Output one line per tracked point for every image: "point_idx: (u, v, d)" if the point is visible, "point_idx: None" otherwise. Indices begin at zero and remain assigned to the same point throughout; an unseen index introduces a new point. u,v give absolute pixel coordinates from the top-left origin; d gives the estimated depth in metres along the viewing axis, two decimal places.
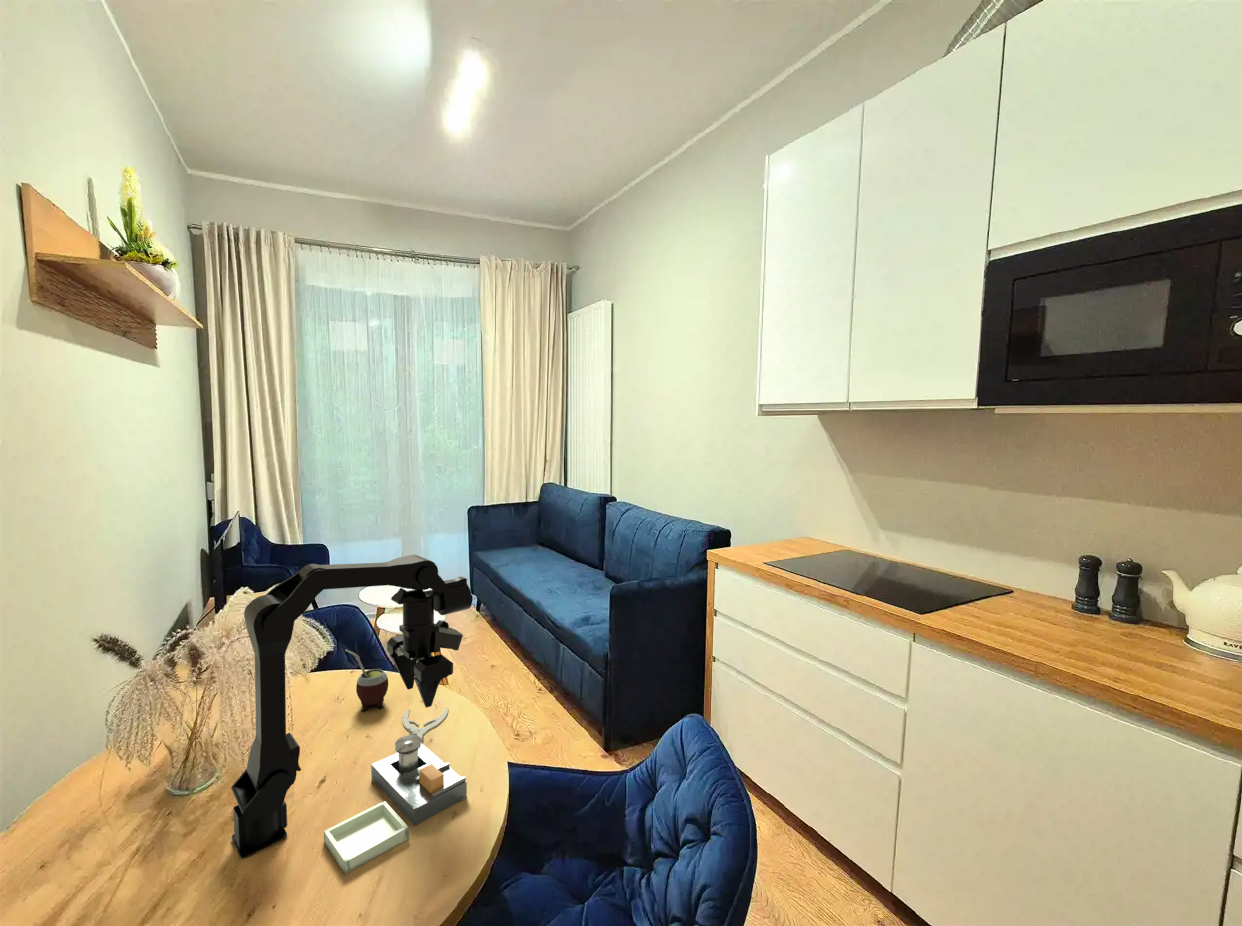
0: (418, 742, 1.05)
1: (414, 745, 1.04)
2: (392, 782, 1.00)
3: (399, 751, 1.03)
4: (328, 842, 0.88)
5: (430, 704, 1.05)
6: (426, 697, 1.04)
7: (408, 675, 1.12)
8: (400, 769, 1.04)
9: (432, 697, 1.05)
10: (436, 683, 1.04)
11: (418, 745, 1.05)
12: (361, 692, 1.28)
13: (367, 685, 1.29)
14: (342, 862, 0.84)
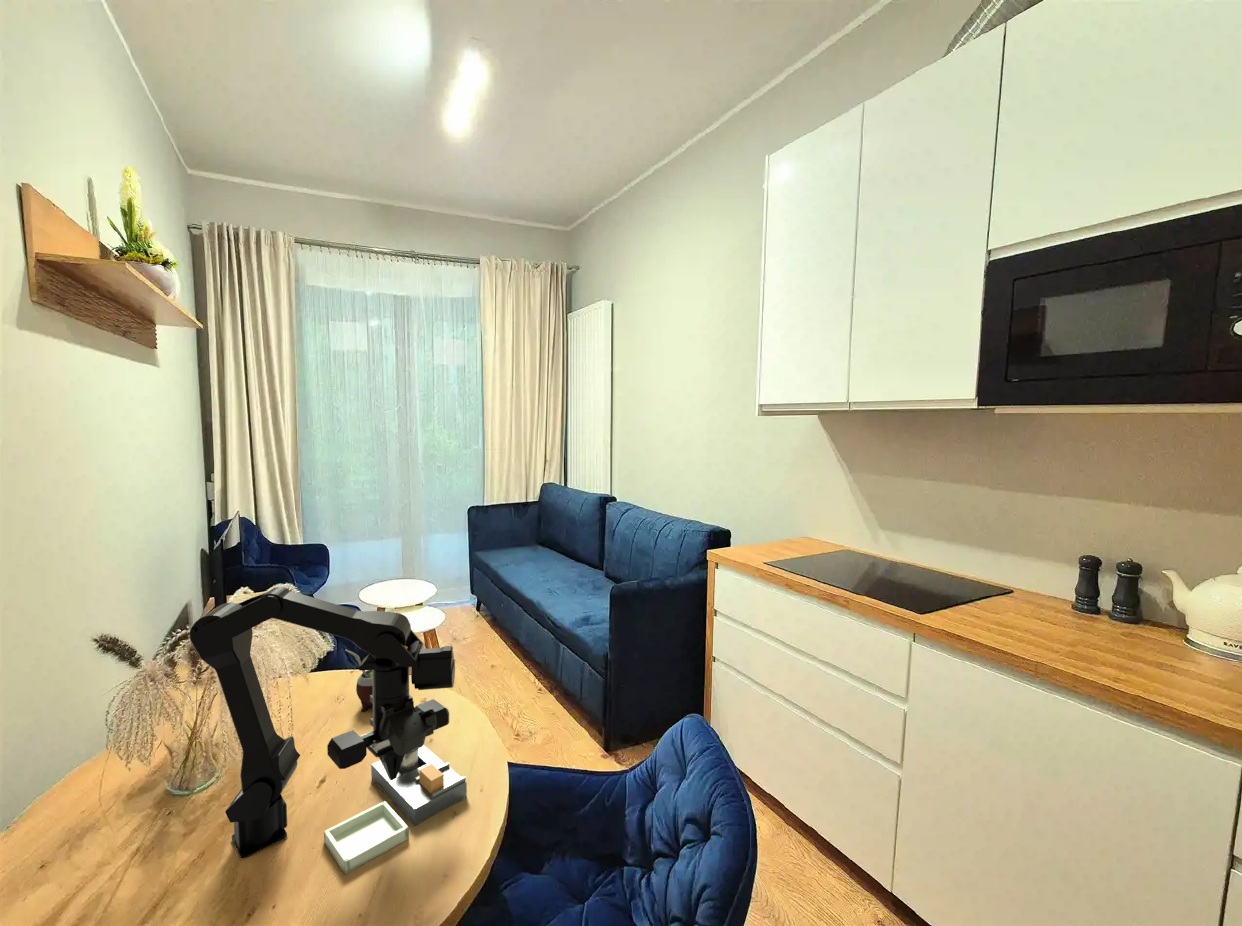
0: None
1: None
2: (392, 782, 1.00)
3: None
4: (328, 842, 0.88)
5: (390, 778, 0.93)
6: (383, 765, 0.93)
7: None
8: (400, 769, 1.04)
9: (389, 772, 0.93)
10: None
11: None
12: (361, 692, 1.28)
13: (367, 685, 1.29)
14: (342, 862, 0.84)
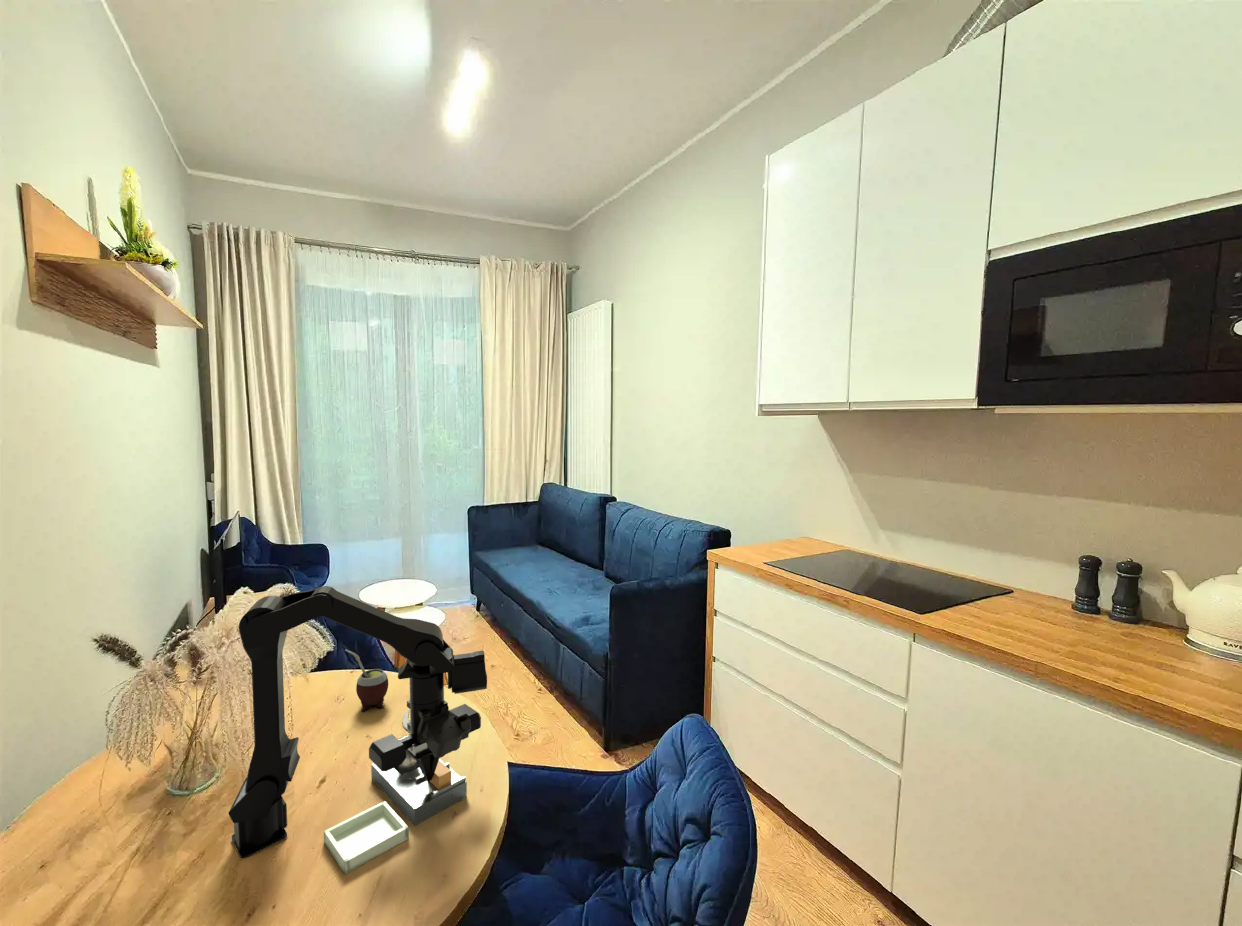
0: None
1: None
2: (392, 782, 1.00)
3: None
4: (328, 842, 0.88)
5: (426, 779, 0.98)
6: (420, 767, 0.98)
7: None
8: (400, 769, 1.04)
9: (426, 773, 0.98)
10: None
11: None
12: (361, 692, 1.28)
13: (367, 685, 1.29)
14: (342, 862, 0.84)
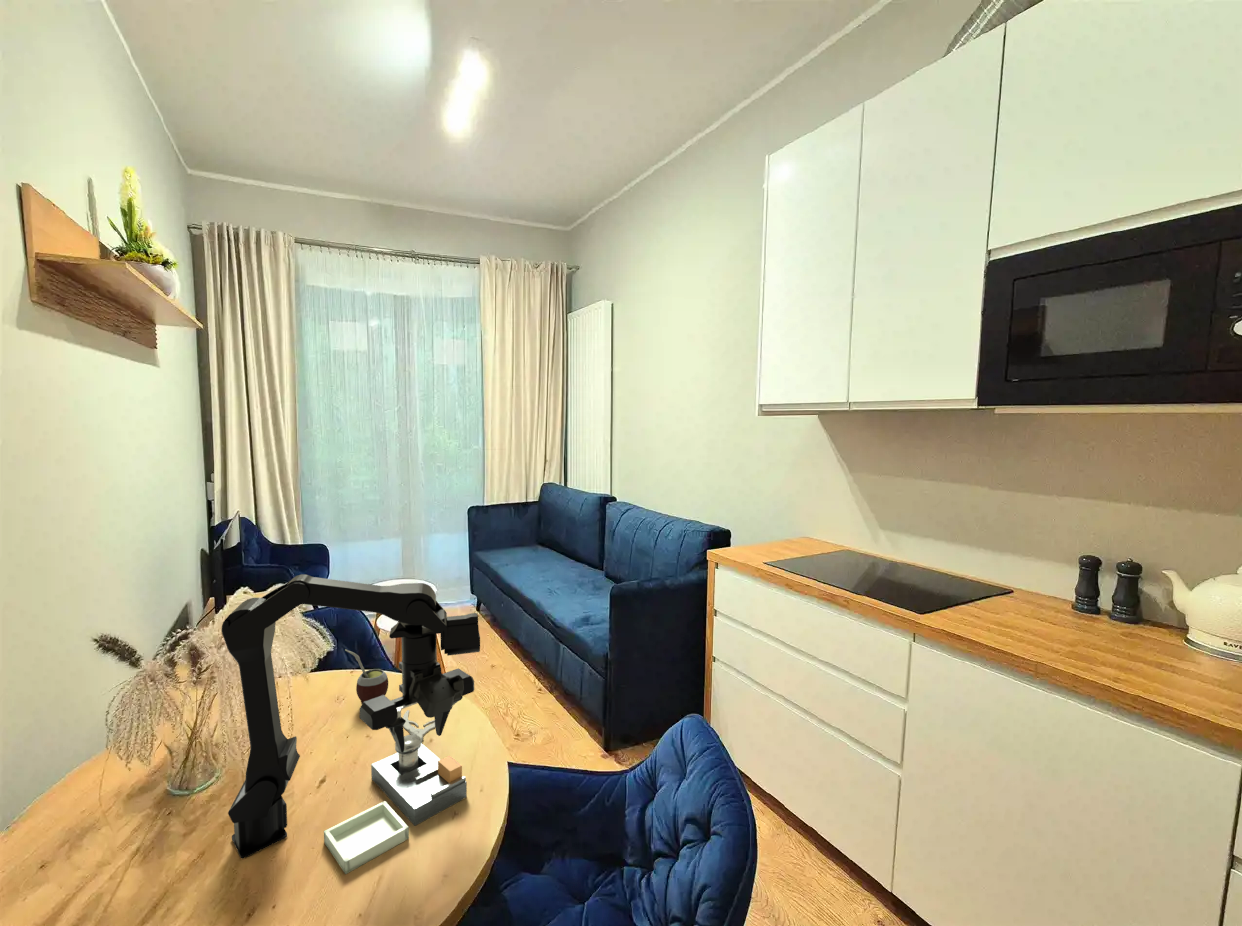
0: (418, 742, 1.05)
1: (414, 745, 1.04)
2: (392, 782, 1.00)
3: (399, 751, 1.03)
4: (328, 842, 0.88)
5: (400, 750, 0.94)
6: (394, 738, 0.94)
7: (437, 719, 1.00)
8: (400, 769, 1.04)
9: (399, 744, 0.94)
10: None
11: (418, 745, 1.05)
12: (361, 692, 1.28)
13: (367, 685, 1.29)
14: (342, 862, 0.84)
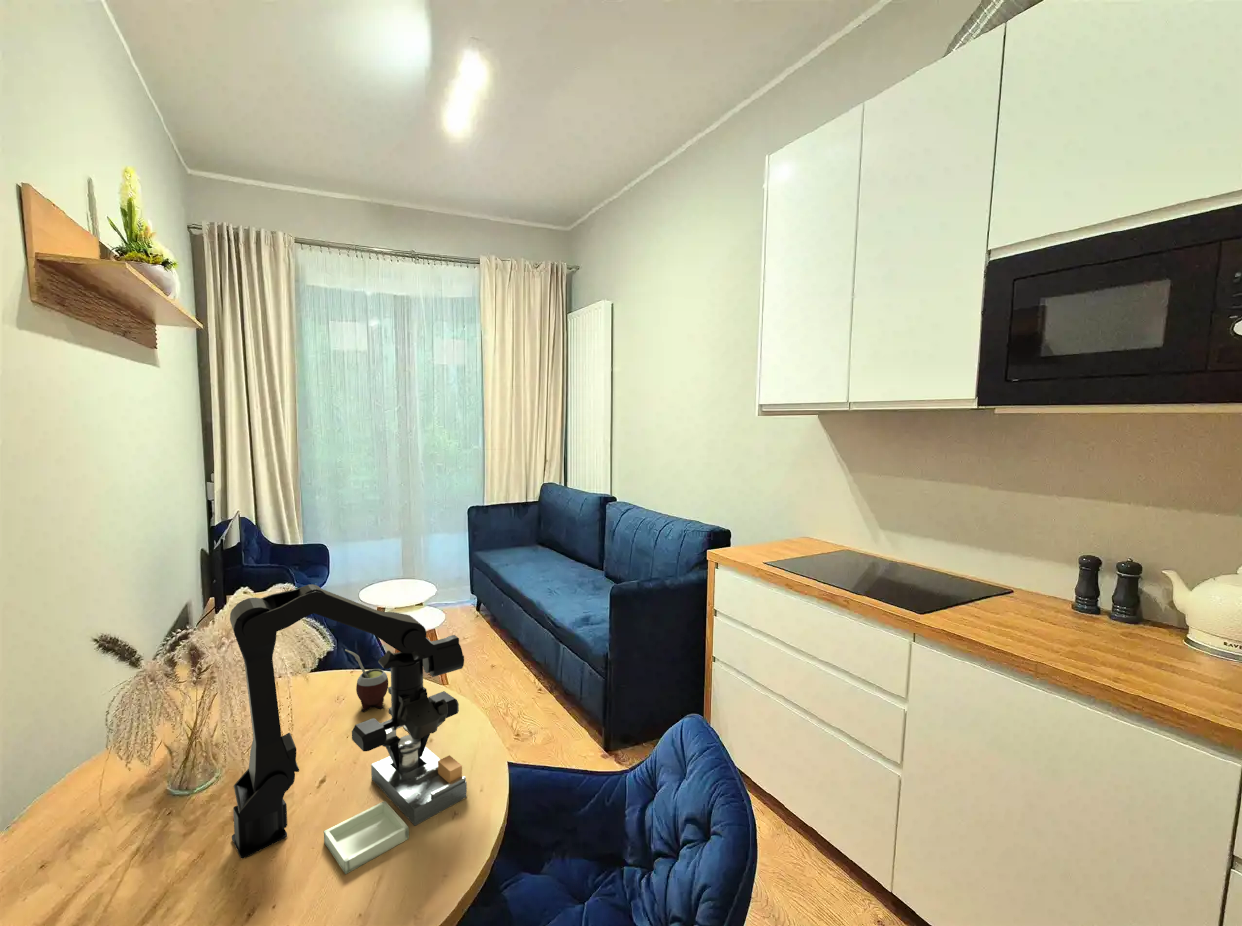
0: (418, 742, 1.05)
1: (414, 745, 1.04)
2: (392, 782, 1.00)
3: (399, 751, 1.03)
4: (328, 842, 0.88)
5: (395, 765, 1.03)
6: (390, 754, 1.03)
7: None
8: (400, 769, 1.04)
9: (395, 760, 1.03)
10: None
11: (418, 745, 1.05)
12: (361, 692, 1.28)
13: (367, 685, 1.29)
14: (342, 862, 0.84)
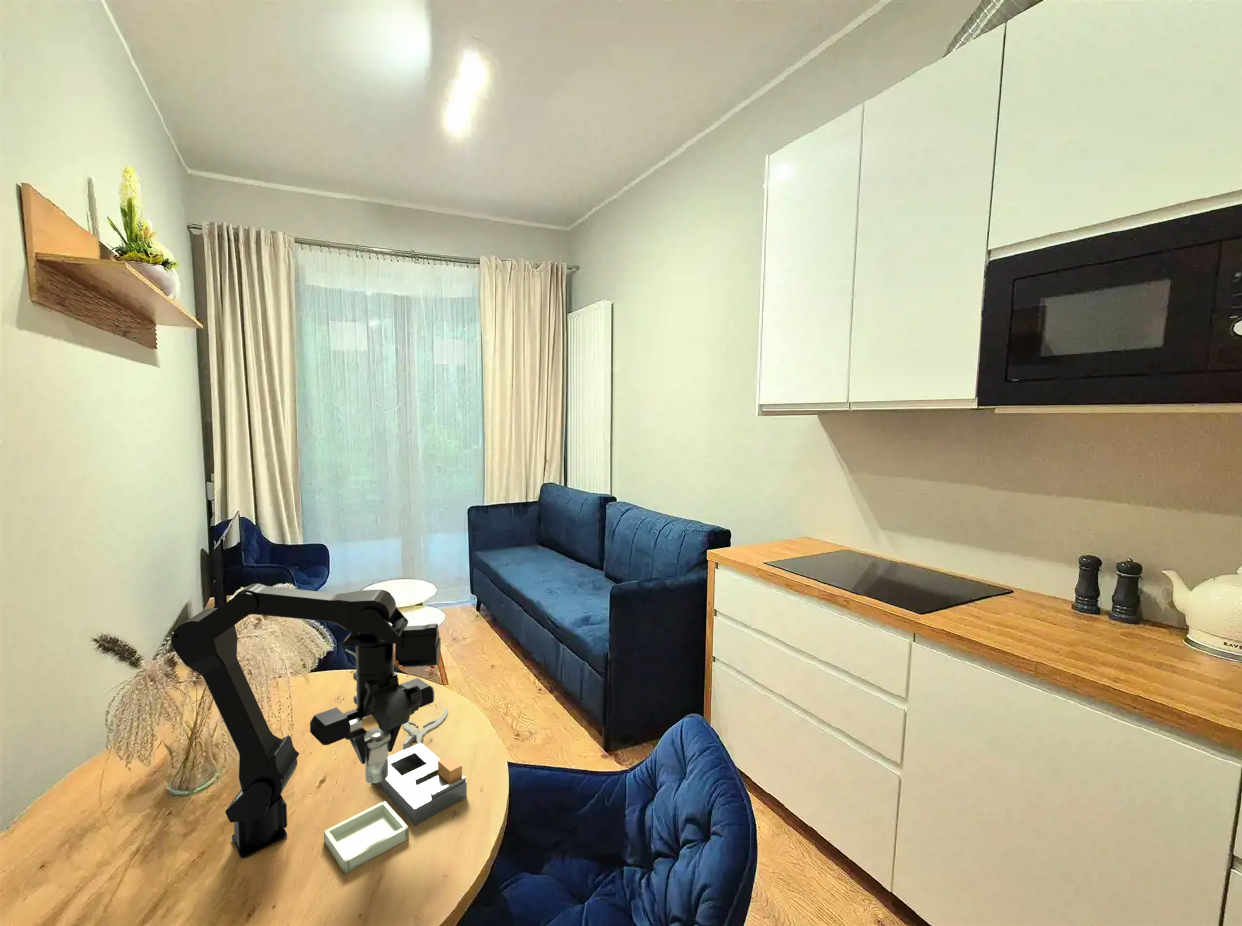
0: (388, 735, 0.93)
1: (383, 738, 0.92)
2: (392, 782, 1.00)
3: (366, 745, 0.91)
4: (328, 842, 0.88)
5: (361, 761, 0.91)
6: (355, 749, 0.91)
7: None
8: (367, 766, 0.92)
9: (360, 755, 0.90)
10: None
11: (388, 738, 0.92)
12: None
13: None
14: (342, 862, 0.84)
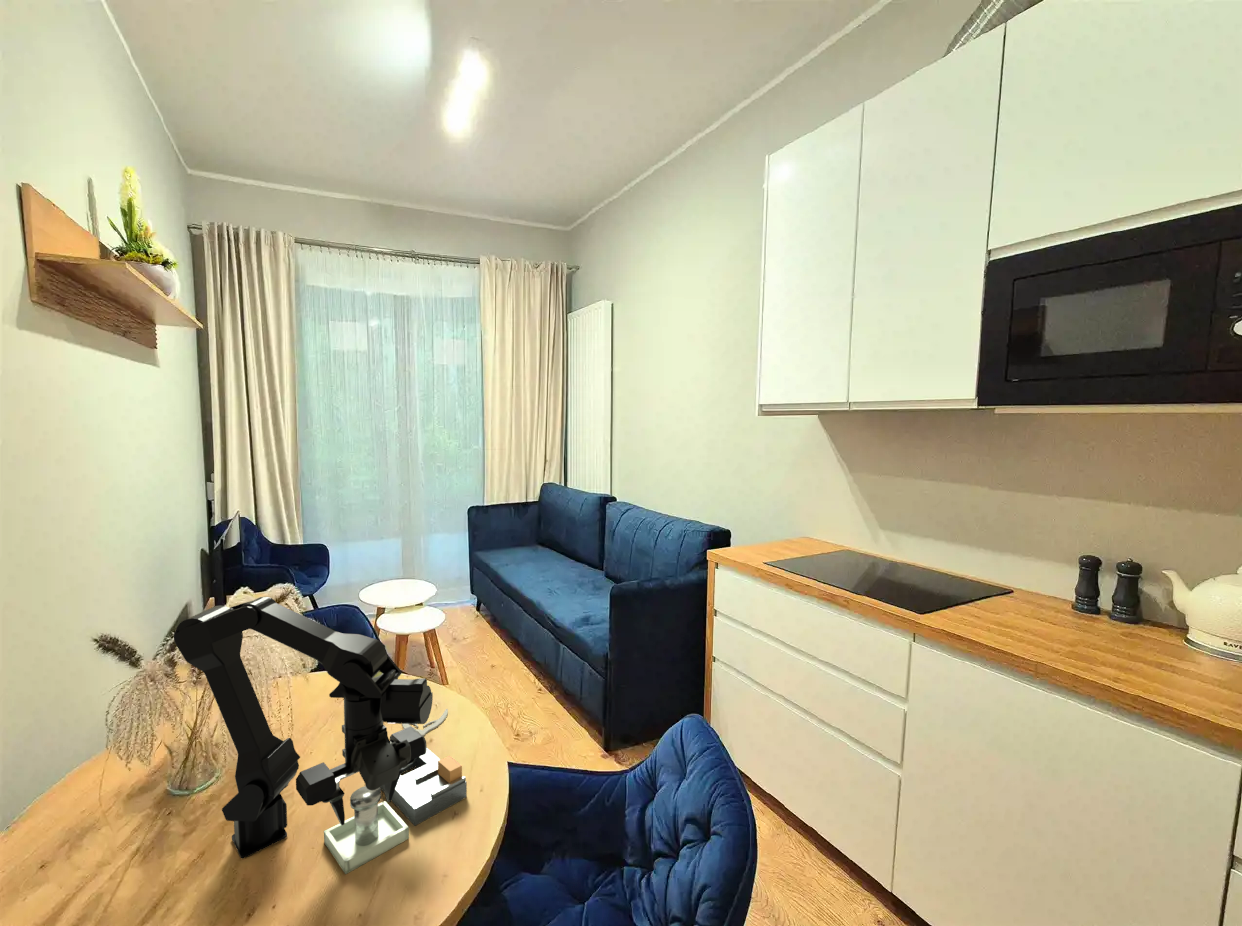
0: (377, 795, 0.89)
1: (372, 799, 0.88)
2: None
3: (354, 807, 0.88)
4: (328, 842, 0.88)
5: (340, 822, 0.87)
6: (333, 809, 0.87)
7: (387, 784, 0.93)
8: (356, 828, 0.88)
9: (339, 816, 0.86)
10: None
11: (377, 799, 0.89)
12: None
13: None
14: (342, 862, 0.84)
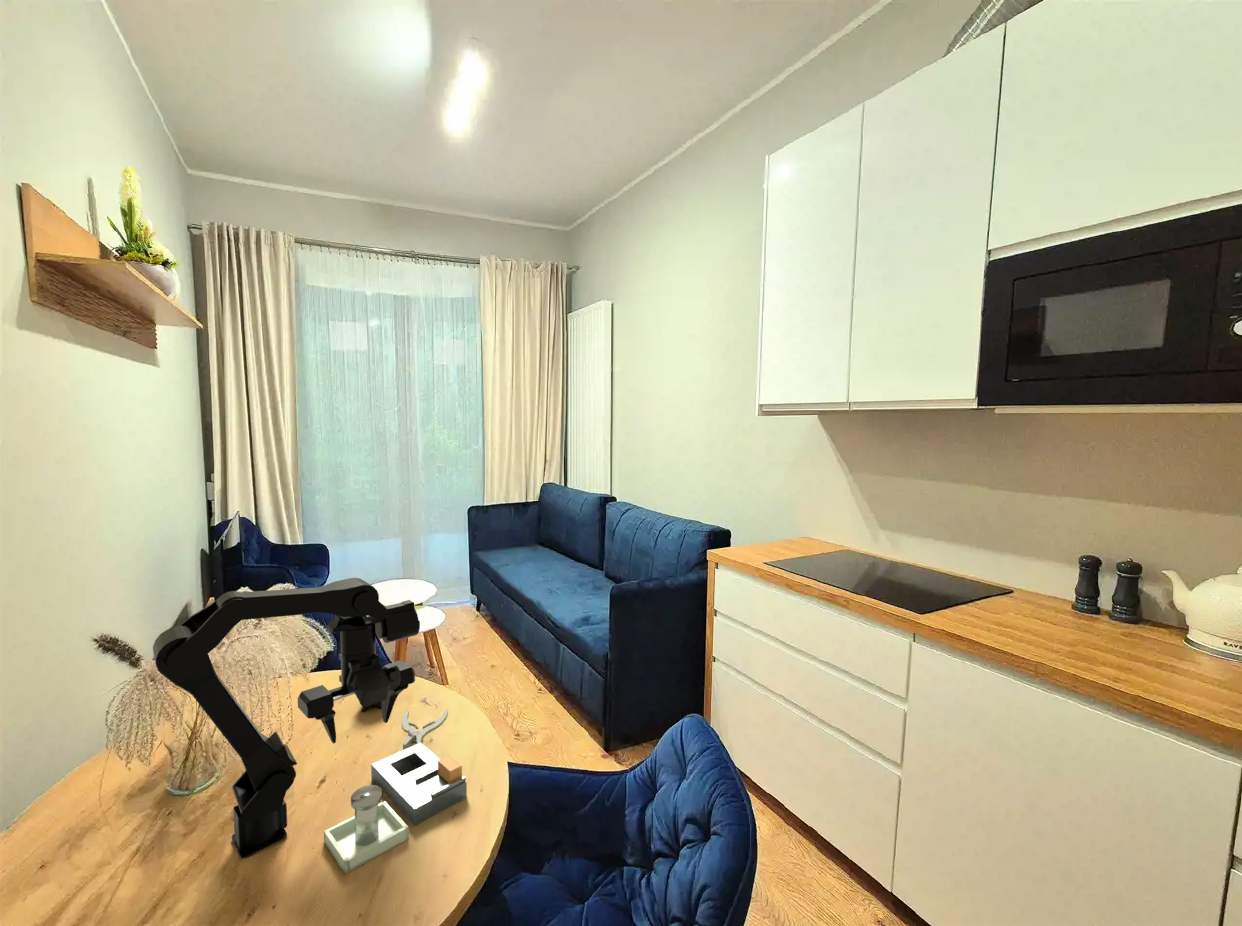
0: (378, 795, 0.89)
1: (373, 799, 0.88)
2: (392, 782, 1.00)
3: (355, 807, 0.88)
4: (328, 842, 0.88)
5: (332, 741, 0.97)
6: (326, 729, 0.97)
7: (384, 707, 1.04)
8: (357, 828, 0.88)
9: (331, 735, 0.96)
10: None
11: (378, 799, 0.89)
12: None
13: None
14: (342, 862, 0.84)
